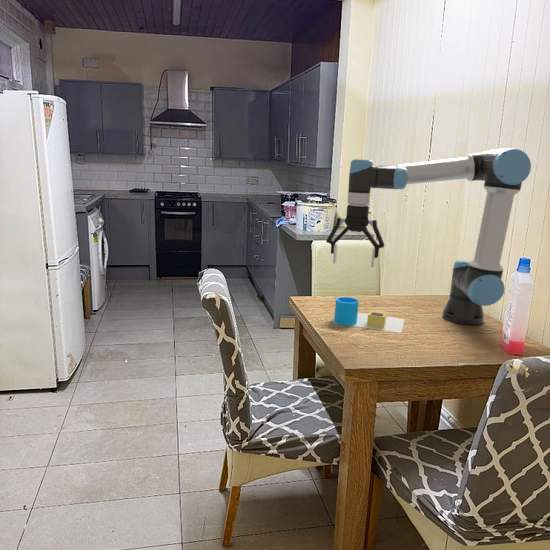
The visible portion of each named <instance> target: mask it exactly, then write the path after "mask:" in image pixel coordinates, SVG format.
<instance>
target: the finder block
mask: <svg viewBox="0 0 550 550" xmlns="http://www.w3.org/2000/svg"><path fill="white" fill-rule="evenodd" d="M367 314H368V320H367V326H373V327H380V328H384V327H385V324H386V318H387V317H388V312H385V311H378V310H377V311H376V310H370V311H369V312H368V313H367Z"/></svg>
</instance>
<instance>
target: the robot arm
mask: <svg viewBox="0 0 550 550" xmlns="http://www.w3.org/2000/svg"><path fill="white" fill-rule="evenodd" d="M531 169H532V162H531V158H530V157H529V156H528V154H527V153H526V152H525V151H523V150H521V149H518V148H516V147H515V148H514V147H505V148H493V149H490V150H485V151H481V152H476V153H469V154H467V155H466V156H465V157H457V158H448V159H438V160H430V161H429V160H428V161H426V160H425V161H418V162H409V163H399V164H389V165H374V164H373V160H372V159H356V158H355V159H352V160H351V161H350V166H349V172H348V173H349V175H348V192H347V206H346V214H345V216H346V217H345V218H343V217H341V216H339V217H337V219H336V222H335V224H334V226H333V229H332V230H331V232H330V233H329V235H328V237H327V238H326V240H325V241H326V243H328V244H330V246H331V247H330V254H331V255H332V254H333V258H332V264H336V263H337V256H338V248H339V247H338V244H337V243H338V242H339V240H341V238H343V236H344V235H346V234H347V232H348V231H350V232H353V233H354V232H356V233H361V232H362V233H363V234H364V235H365V236H366V238H367V239H368V240H369V242H370V243H371V245H372V246H373V248H372V253H371V263H370V264H371V265H370V267H371V268H374V267H375V262H376V259H377V258H378V257H379V254H380V252H379V251H380V249H382V248H385V242H384V240H383V238H382V235H381V233H380V230H379V227H378V220H377V219H373V220H372V219H371V220H369V211H370V207H369V206H368V205H369V204H370V200H371V189H382V190H404V189H405V188H406V187H407V185H413V184H414V185H415V184H422V183H435V182H443V181H444V182H445V181H454V180H465V179H466V180H467V181H469V182H472V181H484V183H483V188H484V189H485V191H486V198H485V202H484V208H483V213H482V217H481V223H480V227H479V228H480V229H479V233H478V238H477V242H476V243H477V244H476V248H475V252H474V258H473V260H456V261H454V264H453V268H452V275H451V283H450V284H451V285H450V291H449V293H450V294H449V297H448V300H447V302H446V304H445V306H444V308H443V309H442V318H443V319H445V320H446V321H449V322H452V323H455V324H458V325H459V324H460V325H467V326H477V325H481V324H483V323H484V318H485V314H484V308H483V307H487V306H492V305H494V304H496V303H497V302H499V301H500V300H501V299H502V297H503V296H504V294H505V284H504V281H503V280H502V278H503V273H504V268H503V266H502V265H501V259H502V254H503V249H504V245H505V241H506V237H507V236H506V235H507V232H508V226H509V222H510V216H511V212H512V208H513V203H514V199H515V195H517V194H518V193H519V192H521V190H522V184H523V182H524V181H526V179H528V177H529V176H530V173H531ZM343 223H344V224H345V225H346V227H345V228H344V229H343V230H342V231H341V232H340V233H339V234H338V235H337V236H336V237H335V238H334V236H335V235H336V233H337V231H338V229H339V228H340V226H341V225H342V224H343ZM368 225H370V227H371V228H372V230H373V232H374V234H375V237H376V239H377V241H376V239H375V238H374V236H373V235H372V234H371V233H370V231H369V228H367V227H368ZM333 238H334V239H333Z"/></svg>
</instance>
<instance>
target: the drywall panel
mask: <svg viewBox="0 0 550 550" xmlns="http://www.w3.org/2000/svg"><path fill="white" fill-rule="evenodd" d="M368 314H369V313H364V312H358V316H357V324H355V325H350V326H351V327H358V328H363V329H364V328H365V329H371V330H372V329H373V330H378V331H384V332H391V333H399V334H402V330H403V326H404V323H405V318H398V317H393V316H392V317H391V316H387V318H386V324H385V327H384V328H380V327H373V326H367V320H368ZM332 324H336V323H335V322H334V320H333V321H332Z"/></svg>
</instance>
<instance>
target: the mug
mask: <svg viewBox="0 0 550 550" xmlns="http://www.w3.org/2000/svg"><path fill="white" fill-rule="evenodd" d="M359 303H360V300H359V299H358V298H354V297H349V296H340V297H337V298H335V305H334V318H333V319H334V320H333V321H334V322H335V323H334V324H338V325H340V326H348V327H349V326H350V325H355V324H357V316H358V313H359Z"/></svg>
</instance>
